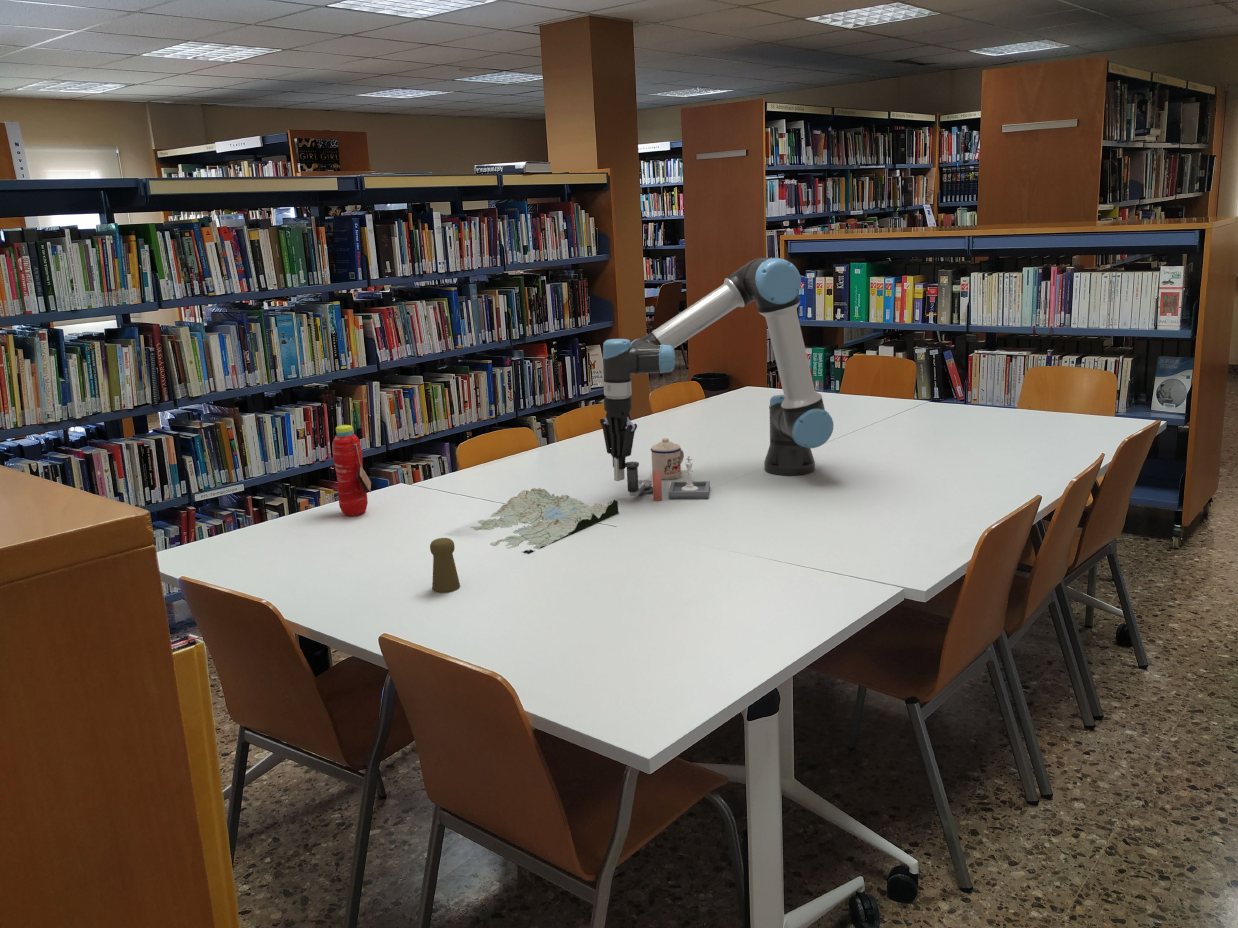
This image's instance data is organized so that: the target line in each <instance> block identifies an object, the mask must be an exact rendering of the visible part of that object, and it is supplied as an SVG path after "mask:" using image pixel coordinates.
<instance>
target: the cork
mask: <svg viewBox="0 0 1238 928" xmlns="http://www.w3.org/2000/svg"><path fill="white" fill-rule="evenodd" d="M455 546H456V545H455V543H454V540H452V538H449V537H438V538H436V539H434V540H432V541H431V542H430V544H429V550H430V551H429V552H430V553H431V555H432V556H433V557H432V558H433V559H432V583H431V585H432V587H431V588H432V592H434V593H438V594H439V593H440V594H442V593H443V594H445V593H446V594H448V593H452V592H455V591H457V590H459V589H460V588H461V583H460V579H459V576H458V570H457V567H456V562H455V559H454V555H453V553H454V552H455Z"/></svg>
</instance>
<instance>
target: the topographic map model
mask: <svg viewBox="0 0 1238 928" xmlns="http://www.w3.org/2000/svg"><path fill="white" fill-rule="evenodd" d="M619 513H620V512H619V502H618V500H617V499H613V500H610V501H609V502H607V503H606V504H601V503H597V502H595V503H593V505H591V506H590V505H587V504H585V503H584V502H582V501H579V499H577V498H573V497H571V496H569V495H568V494H563V495H560V496H558V495H557V496H556V495H555V493H553V494H550V492H548V491H547V490H546V489H545V488H541V487H539V488H536V487H535V488H533V487H532V488H531V489H530V490H526V489H523V490H522V491H520V492H519V493H518V494H517V496H513V497H510V498H509V500H508V501H507V502H506V503H505V504H502V505H501V506H500V508H499V509H498V510H497V511H496V512H493V513H492V514H491V515H490V516H489V517H490V518H492V517H493V519H487V520H484V519H481V520H478V521H477V523H478V524H480V526H479V525H477V526H476V525H475V526H470V527H469V528H470V529H473V530H474V531H480V530H481V531H485V530H487V531H492V530H494V529H495V528H501V529H503V528H504V529H507V528H512V527H513V526H518V525H519V524H529V525H527V526H526V525H523V526H522V527H519V528H517V529H515V530H513V531H512V533H513V534H518V535H507V536H506V537H505V538H504V539H503V538H502V539H501V538H500V539H498V540H496V541H495V542H494V541H492V542H491V543H490V544H489V545H490V546H493V547H496V546H497V547H498V546H499V545H500V543H501V542H506V543H507V544H505V545H504V547H507V549H512V548H517V547H519V546H520V544H521V543H524V542H526V541H527V546H532V548H533V549H534V550H532V549H526V550H524V551H522V553H524V554H528V555H530V554H531V553H534V552H535V550H537V551H538V550H540V549H543V548H545V547H548V546H549V545H552V544H554V543H556V542H558V541H560V540H563V539H566V538H567V537H569V536H571V535H574V534H576V533H579V532H580V531H583V530H585V529H587V528H589V527H592V526H594V525H596V524H598V523H601V522H603V521H605V520H607V519H610V518H612V517H615V516H617V515H619ZM494 517H495V518H494ZM496 517H499V518H498V519H497V518H496Z"/></svg>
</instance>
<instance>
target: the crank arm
mask: <svg viewBox="0 0 1238 928" xmlns="http://www.w3.org/2000/svg"><path fill="white" fill-rule="evenodd" d="M639 467H640V462H638V461H625V468H626V481H627V482H626V483H627V484H626V485H627V492H629V496H630V497H638V496H640V495H639V494H640V493H641V492H643V491H644V490H645V489H650V488H652V487H653V480H650V479H640V480H639V473H638V472H639V470H638V469H639Z"/></svg>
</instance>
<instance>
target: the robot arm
mask: <svg viewBox="0 0 1238 928" xmlns="http://www.w3.org/2000/svg"><path fill="white" fill-rule="evenodd" d="M801 285H802V279H801V274H800V272H799V270H798V269H797V267H796V266H795V265H794V264H793V263H792V262H791V261H788V260H786V259H783V258H781V257H757V258H755V259H752V260H751V261H748V262H747V263H745V264H744V265H743V266H741V267H740V268H738V269H737V270H736V271H734V272H733V273H731V274H730V275H729V276H727V277H725V278H724V281H723V284H721V285H720V286H718V288H715V289H714V290H712V291H711V292H710V293H708V294H707V295H705V296H703V297H702V298H701V299H699V300H698V301H695V303H693V304H691V305H689V307H687V308H685V309H684V310H683V311H681V312H679V313H678V314H676V315H675V316H674V317H672V318H671V319H669V320H667V321H666V322H665V323H663V324H661V325H659V327H657V328H656V329H654V330H653V331H651V332H649V333H648V334H647V335H645V336H643V337H641V338H636V339H634V340H633V341H630V339H627V338H611V339H606V340H605V341H604V342H603V345H602V367H603V368H602V373H603V396H604V398H603V405H604V406H603V407H604V408H603V409H604V411H605V412H606V413H605V417H603V418H601V419H599V422H600V425H601V427H602V432H603V439H604V442H605V443H604V444H605V448H606V453H607V454H608V455H610V456H611V457H612V468H613V480H614V481H615V482H620V481H623V480H625V477H626V476H625V469H626V467H625V463H626V458H627V457H630V456H632V451H633V450H632V449H633V444H634V438H635V433H636V430H637V429H638V424H637V423H634V422H632V421H631V419H632V417H631V414H630V412H631V411H632V410H633V409H632V408H633V407H632V406H633V405H632V403H633V402H632V400H633V399H632V397H631V396H632V394H633V393H632V375H640V374H663V373H664V374H665V373H671V372H673V371H674V370H675V366H676V353H675V349H676V348H677V347H679V346H680V345H681V344H683V343H684V342H686V341H688V340H689V339H691V338H692V337H694V336H695V335H697V334H699V333H700V332H701V331H703V330H705V329H706V328H707V327H710V326H711V325H713V323H715V322H716V321H718V320H720V319H721V318H722V317H724V316H725V315H727V314H729V313H730V312H732V311H733V310H734V309H737V308H744V307H746V306H747V305H749V304H751V303H753V302H755V303H756V308H757V310H758V314H760V315H762V316H763V317H764V318H765V321H766V325H767V329H768V332H769V333H768V334H769V338H770V342H771V346H772V349H773V351H772V352H773V355H774V359H775V363H776V367H777V371H778V375H779V376H778V377H779V380H780V385H781V388H782V392H783V394H776V395H773V396H771V397H770V399H769V406H768V408H769V447H768V450H767V453H766V456H765V459H764V462H763V463H764V464H763V465H764V467H763V468H764V469H763V470H764V471H765V472H767V473H770V474H772V475H779V476H781V475H782V476H799V475H806V474H810V473H813V472H815V470H816V461H815V458H814V454H813V452H812V449H815V448H819V447H821V446H822V445H824V444H826V443H827V442H828V440H829V439H830V437H831V436H832V434H833V432H834V420H833V418H832V416H831V414H830V413H829V412H828V411H827V410H826V409H825V404H824V400H823V396H822V394H821V393H819V392H817V391H816V389H815V385H814V381H813V378H812V377H813V376H812V372H811V368H810V364H809V359H808V356H807V355H808V354H807V352H806V346H805V341H804V338H803V332H802V328H801V324H800V321H799V317H798V316H799V315H798V312H797V309H798V307H799V305H800V304H801V299H800V295H799V293H800V290H801Z"/></svg>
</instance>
